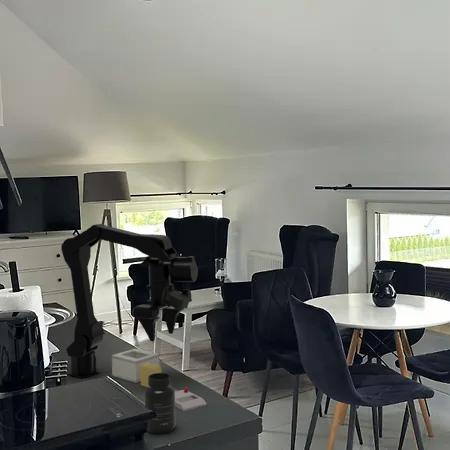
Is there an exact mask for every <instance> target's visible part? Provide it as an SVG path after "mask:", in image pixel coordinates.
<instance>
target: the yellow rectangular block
mask: <svg viewBox="0 0 450 450" xmlns="http://www.w3.org/2000/svg"><path fill="white" fill-rule="evenodd" d="M140 367H141V381H140V386H142V387H145V388H148V387H149V385H148V377H149V376H150V375H151V374H155V373H163V372H162V366H161V365H160V366H158V365H154V364H150V363H147V364H144V365H141V366H140Z"/></svg>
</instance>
